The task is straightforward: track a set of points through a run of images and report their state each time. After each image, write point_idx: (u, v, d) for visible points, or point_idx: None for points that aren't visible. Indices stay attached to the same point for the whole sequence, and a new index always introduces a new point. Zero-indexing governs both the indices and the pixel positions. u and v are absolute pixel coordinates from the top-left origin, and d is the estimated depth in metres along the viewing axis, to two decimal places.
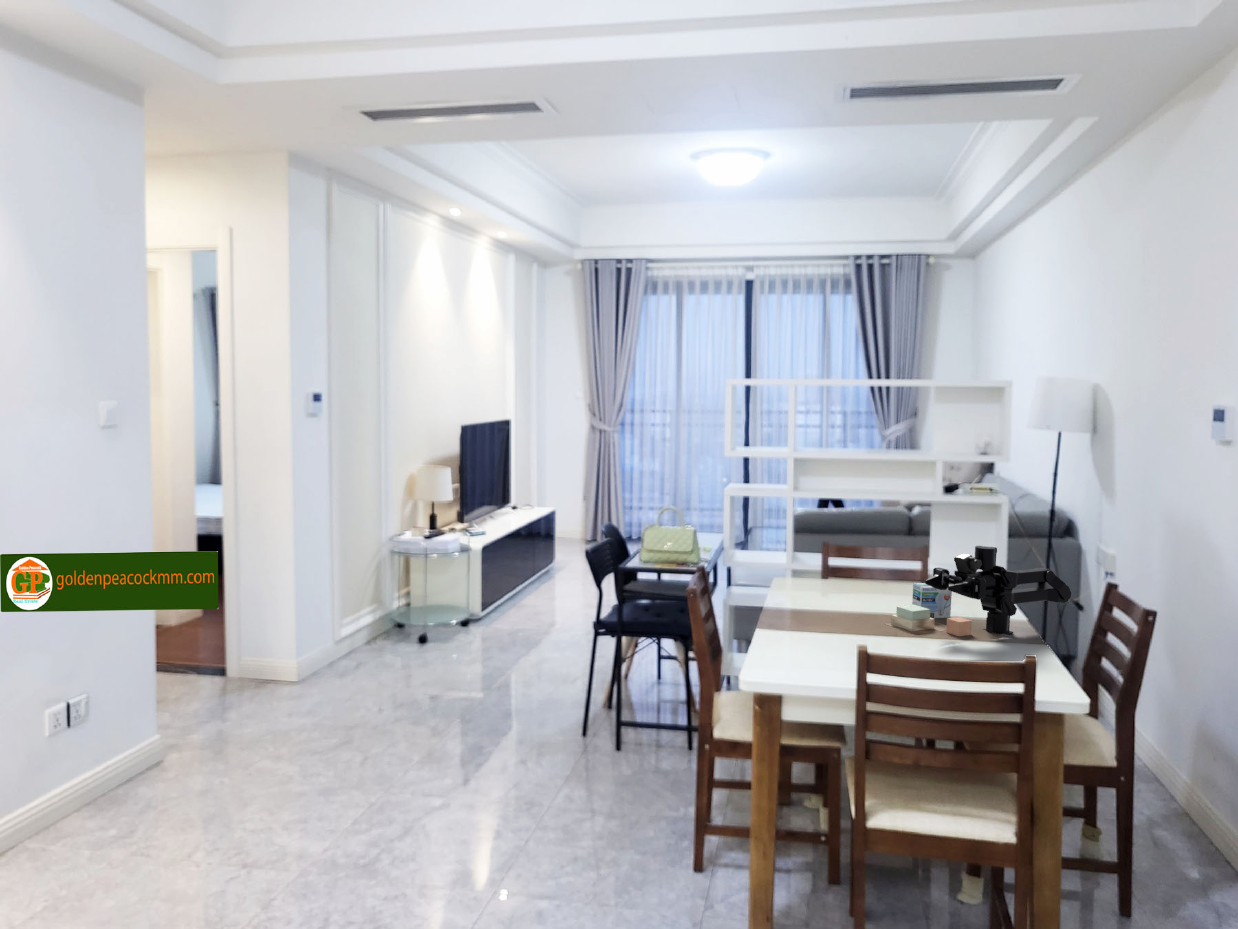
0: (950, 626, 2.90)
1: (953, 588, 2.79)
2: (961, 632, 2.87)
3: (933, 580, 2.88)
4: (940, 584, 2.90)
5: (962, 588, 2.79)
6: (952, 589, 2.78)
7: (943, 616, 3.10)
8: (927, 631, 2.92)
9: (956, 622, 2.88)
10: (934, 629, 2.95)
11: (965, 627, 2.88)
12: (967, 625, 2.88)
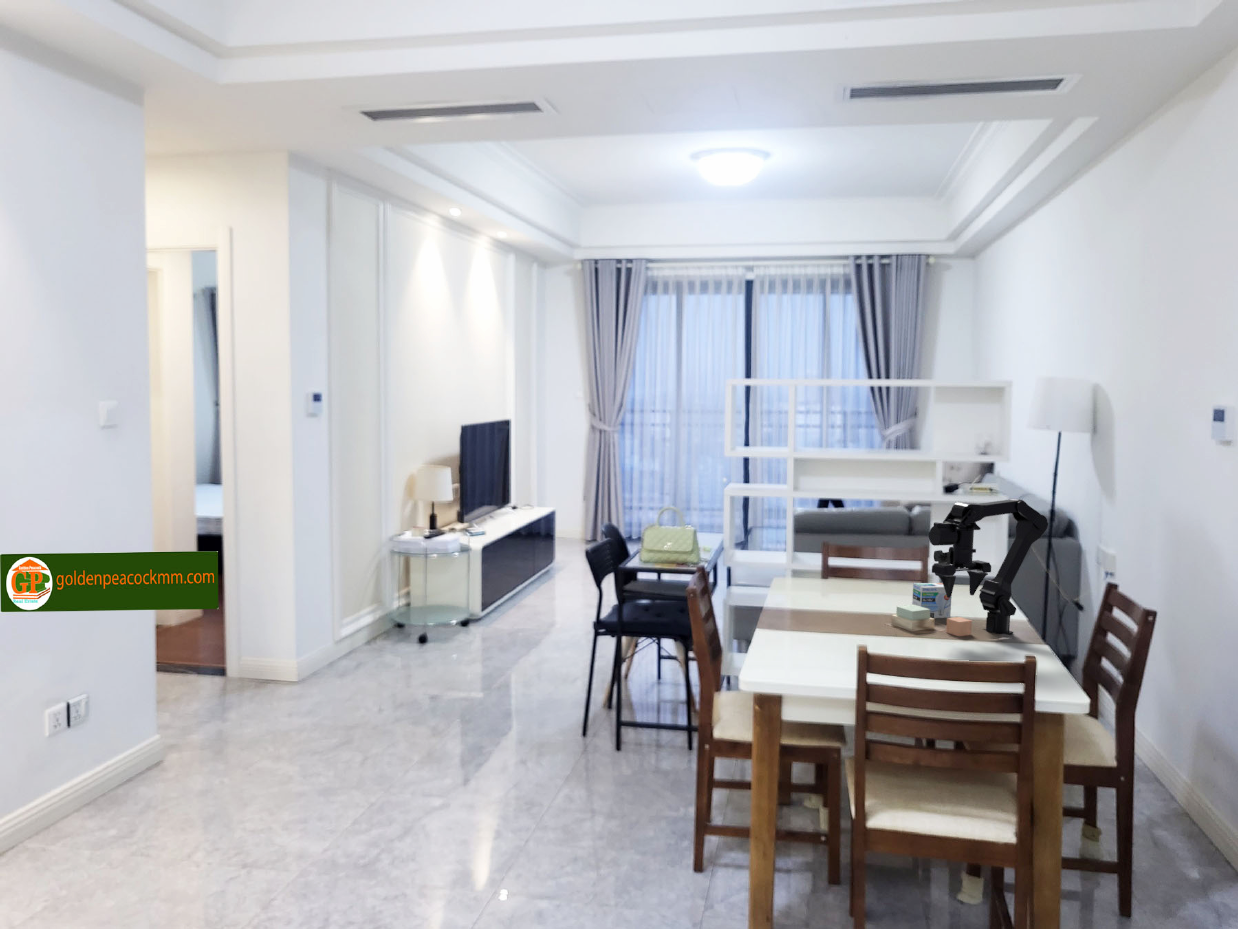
0: (950, 626, 2.90)
1: (947, 593, 2.87)
2: (961, 632, 2.87)
3: (971, 585, 2.92)
4: (976, 575, 2.90)
5: (946, 583, 2.87)
6: (948, 594, 2.87)
7: (943, 616, 3.10)
8: (927, 631, 2.92)
9: (956, 622, 2.88)
10: (934, 629, 2.95)
11: (965, 627, 2.88)
12: (967, 625, 2.88)
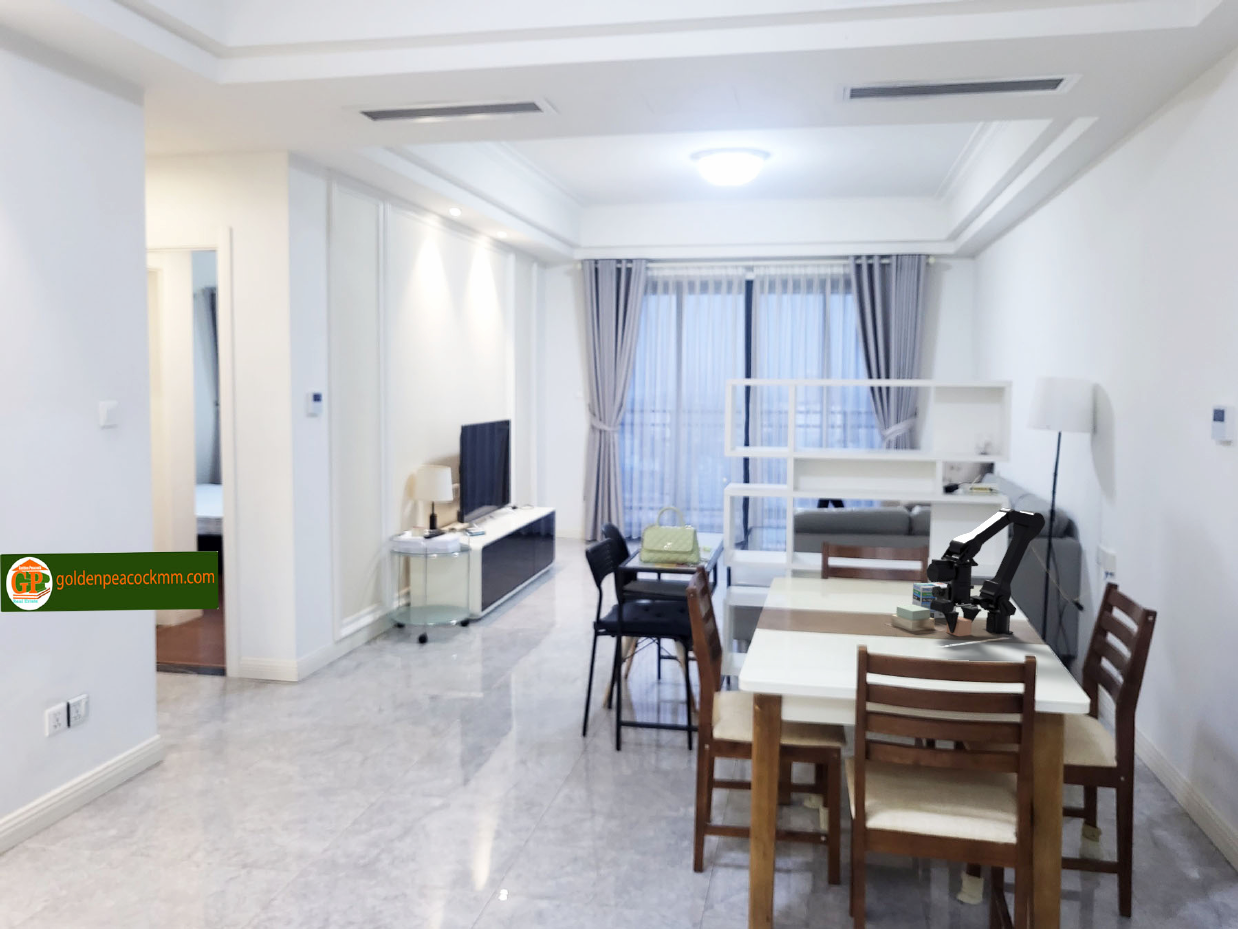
0: None
1: (951, 628, 2.89)
2: (961, 632, 2.87)
3: None
4: (970, 611, 2.90)
5: (950, 619, 2.88)
6: (951, 630, 2.89)
7: (943, 616, 3.10)
8: (927, 631, 2.92)
9: None
10: (934, 629, 2.95)
11: (965, 626, 2.88)
12: (967, 624, 2.88)
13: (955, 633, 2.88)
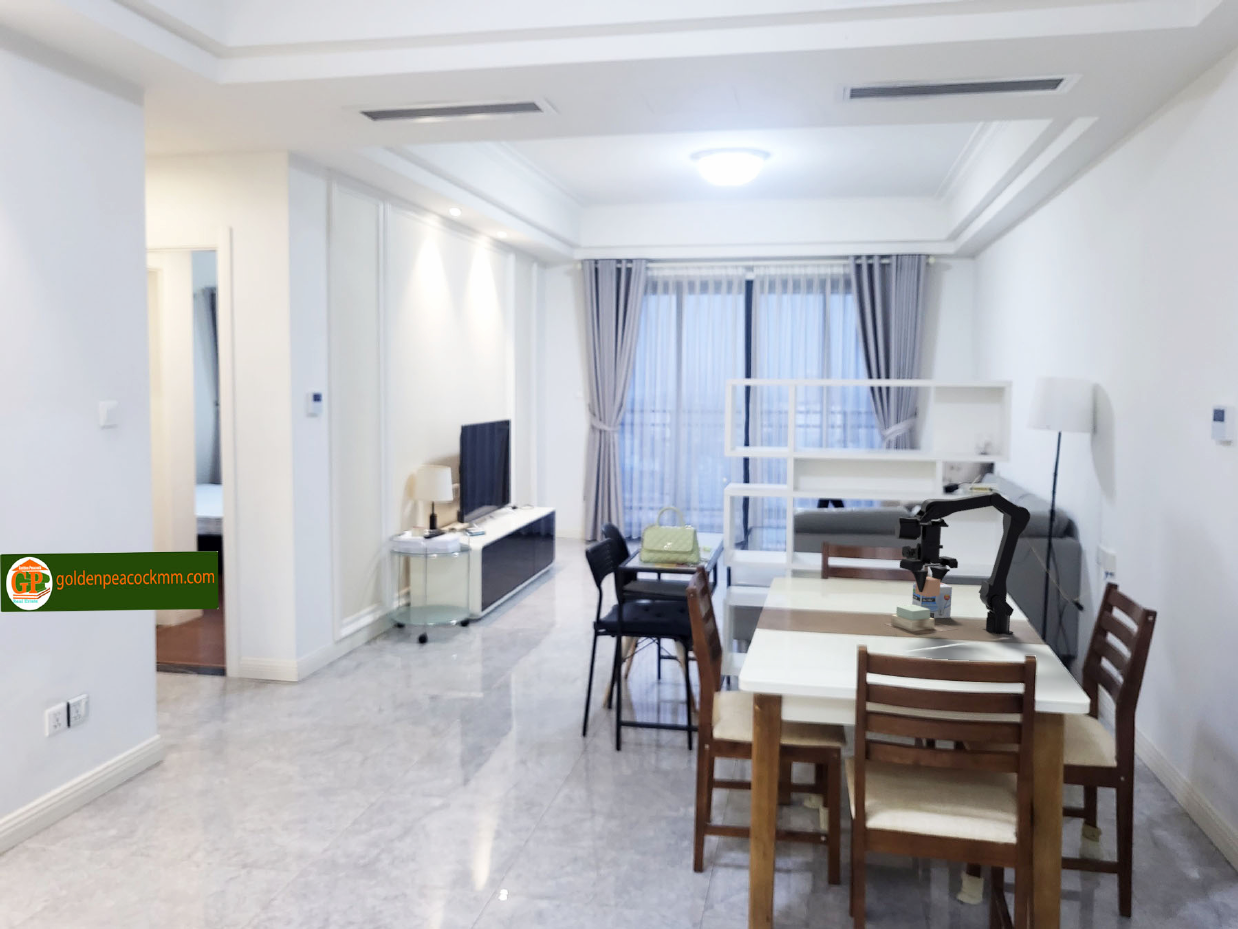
0: None
1: (920, 587, 2.93)
2: (929, 591, 2.92)
3: None
4: (939, 571, 2.94)
5: (918, 578, 2.92)
6: (920, 588, 2.93)
7: (943, 616, 3.10)
8: (927, 631, 2.92)
9: (925, 581, 2.92)
10: (934, 629, 2.95)
11: (934, 586, 2.92)
12: (936, 583, 2.93)
13: (924, 592, 2.92)
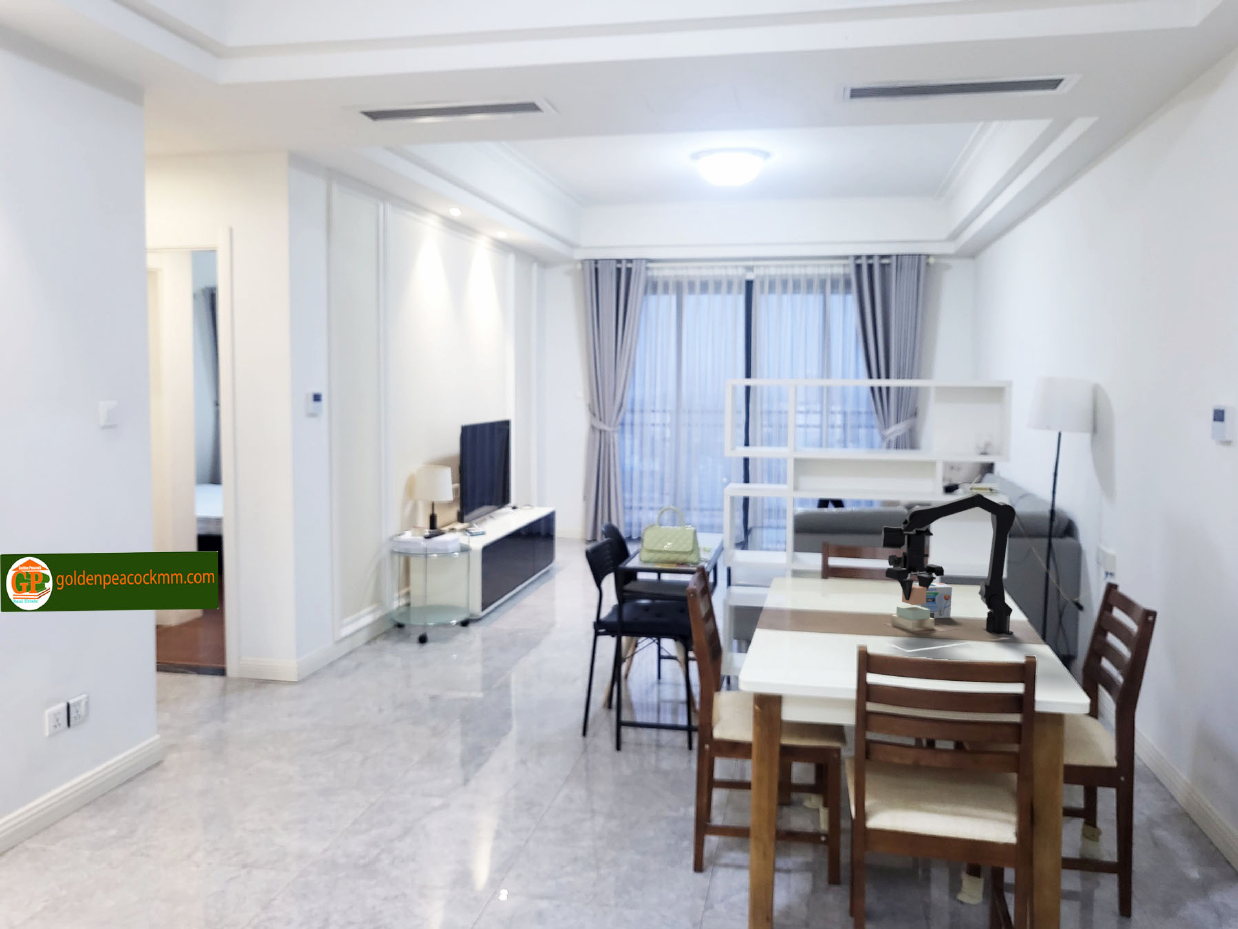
0: None
1: (906, 596, 2.96)
2: (915, 599, 2.95)
3: None
4: (925, 579, 2.97)
5: (905, 587, 2.95)
6: (906, 597, 2.96)
7: (943, 616, 3.10)
8: (927, 631, 2.92)
9: None
10: (934, 629, 2.95)
11: (920, 594, 2.95)
12: (922, 591, 2.95)
13: (910, 600, 2.95)
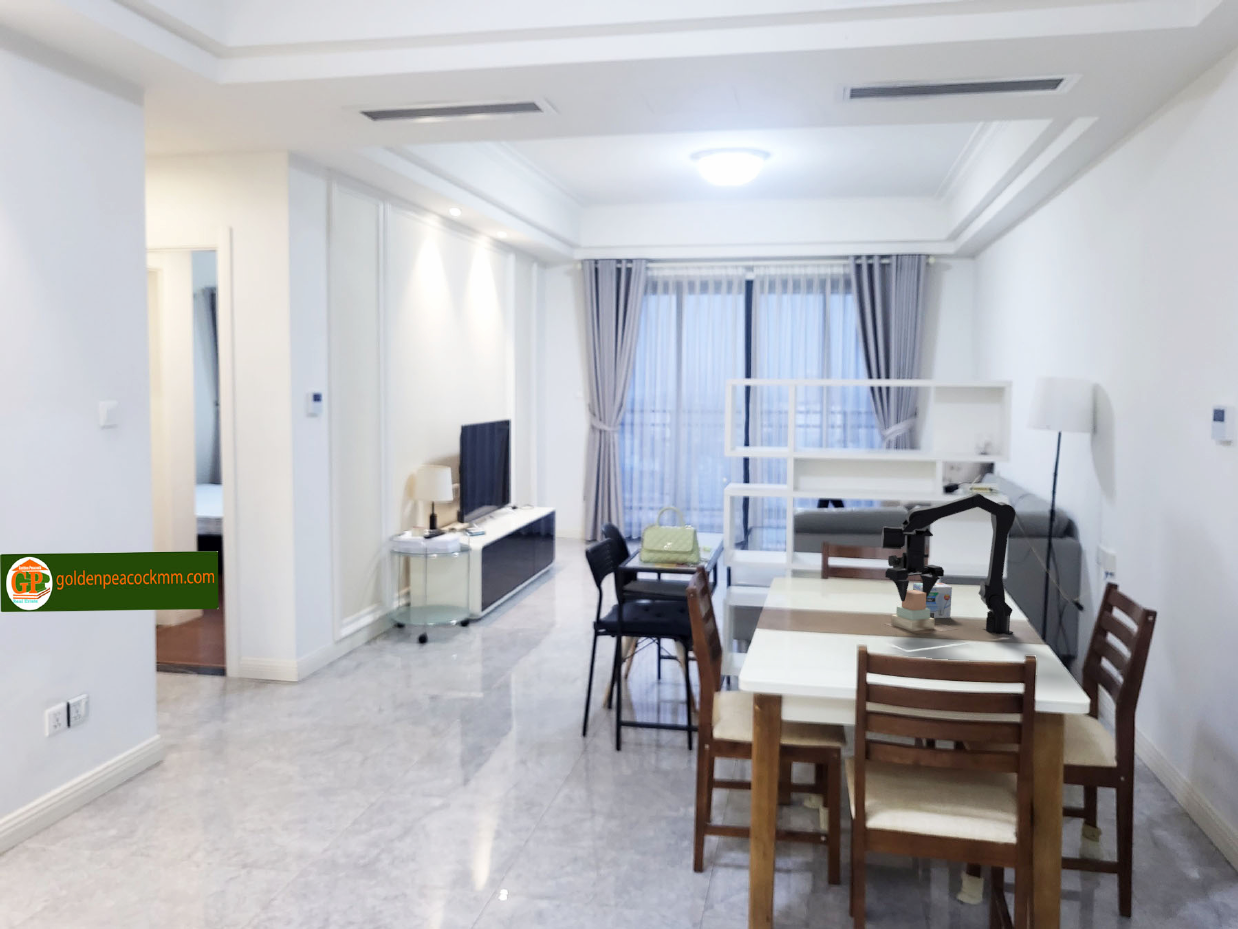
0: (905, 598, 2.97)
1: (902, 597, 2.95)
2: (915, 604, 2.95)
3: (924, 589, 2.99)
4: (929, 579, 2.98)
5: (900, 588, 2.95)
6: (902, 598, 2.95)
7: (943, 616, 3.10)
8: (927, 631, 2.92)
9: (911, 594, 2.95)
10: (934, 629, 2.95)
11: (920, 599, 2.95)
12: (922, 597, 2.96)
13: (910, 605, 2.95)
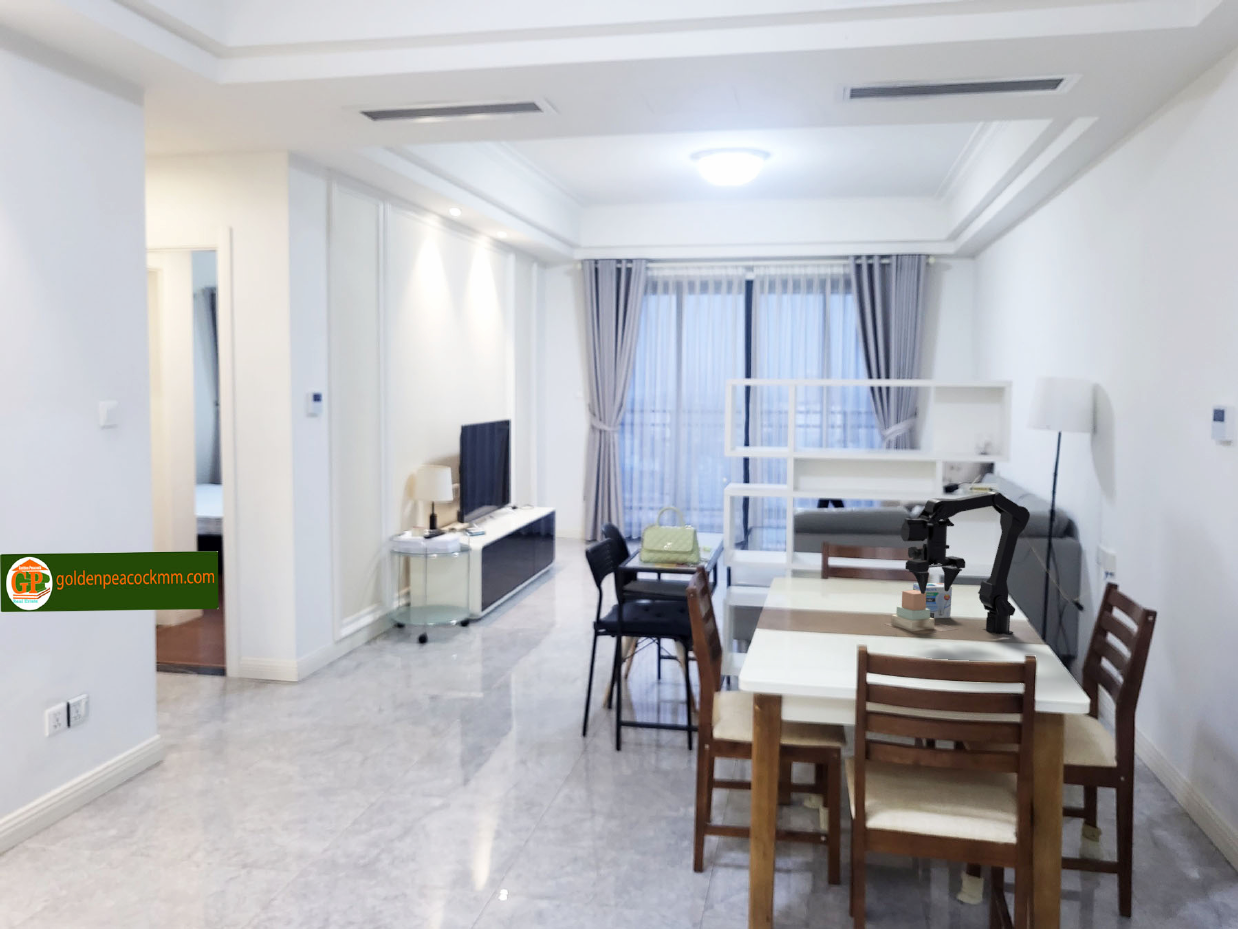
0: (905, 598, 2.97)
1: (921, 589, 2.88)
2: (915, 604, 2.95)
3: (945, 581, 2.92)
4: (951, 571, 2.91)
5: (920, 580, 2.88)
6: (922, 590, 2.88)
7: (943, 616, 3.10)
8: (927, 631, 2.92)
9: (911, 594, 2.95)
10: (934, 629, 2.95)
11: (920, 599, 2.95)
12: (922, 597, 2.96)
13: (910, 605, 2.95)
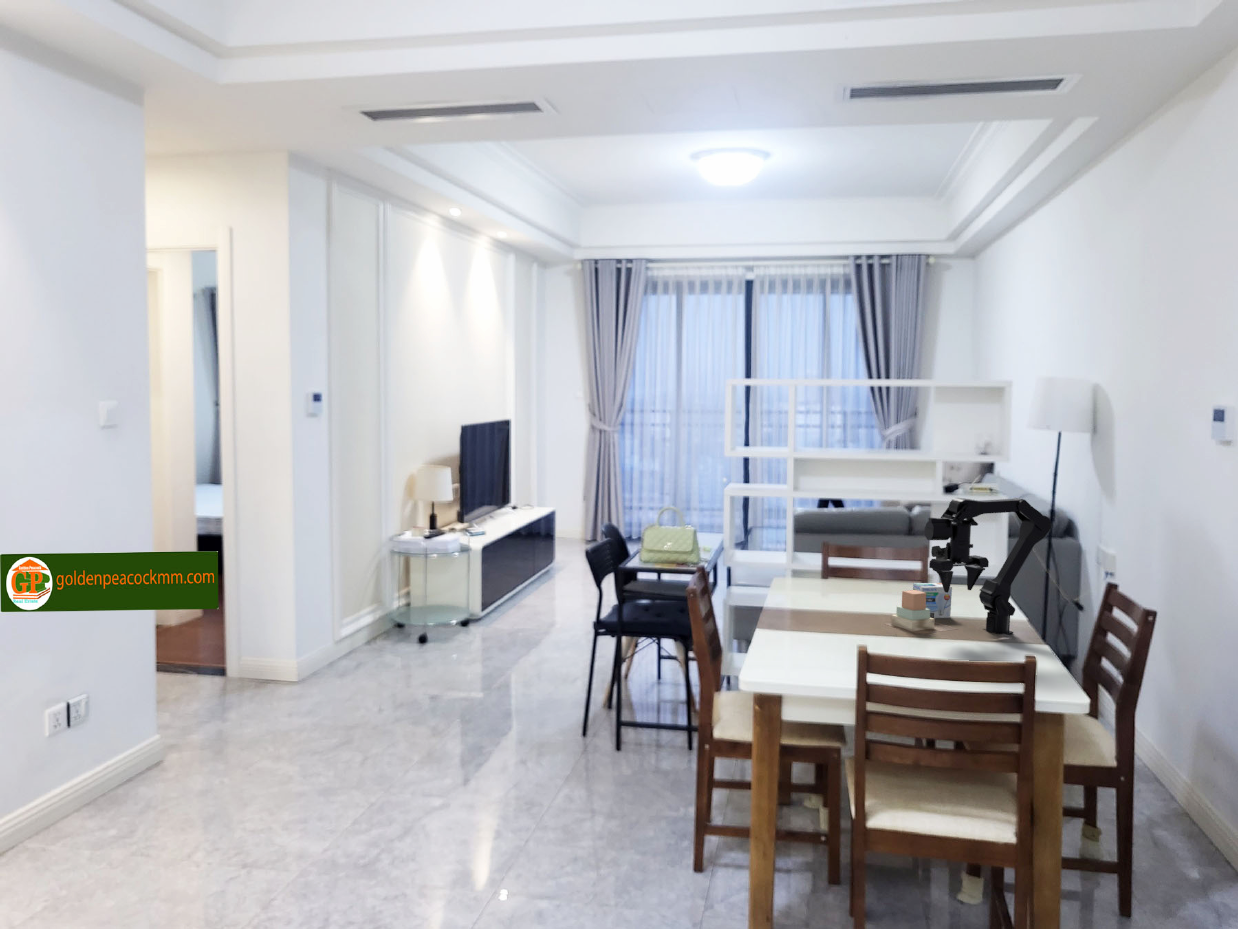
0: (905, 598, 2.97)
1: (945, 588, 2.89)
2: (915, 604, 2.95)
3: (968, 580, 2.94)
4: (974, 570, 2.92)
5: (944, 579, 2.89)
6: (946, 589, 2.89)
7: (943, 616, 3.10)
8: (927, 631, 2.92)
9: (911, 594, 2.95)
10: (934, 629, 2.95)
11: (920, 599, 2.95)
12: (922, 597, 2.96)
13: (910, 605, 2.95)
